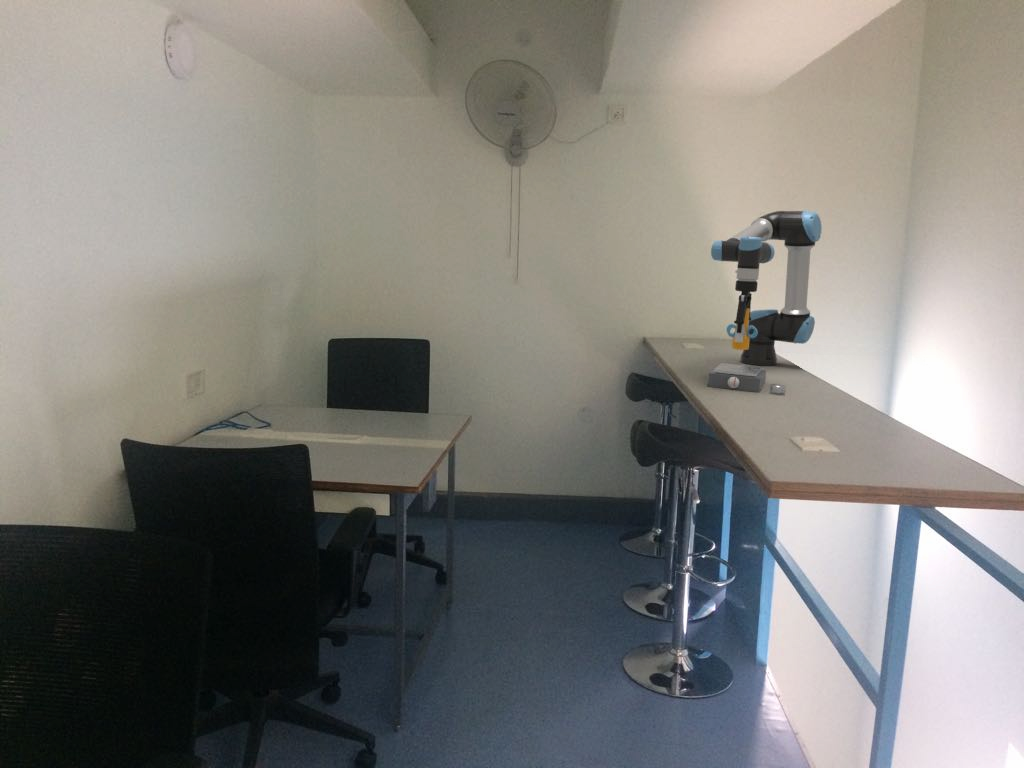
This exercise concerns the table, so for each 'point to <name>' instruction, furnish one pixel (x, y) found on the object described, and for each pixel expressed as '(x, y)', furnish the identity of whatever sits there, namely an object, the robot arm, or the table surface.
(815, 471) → the table surface
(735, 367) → the pan
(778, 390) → the cylinder
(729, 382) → the base
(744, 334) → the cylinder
